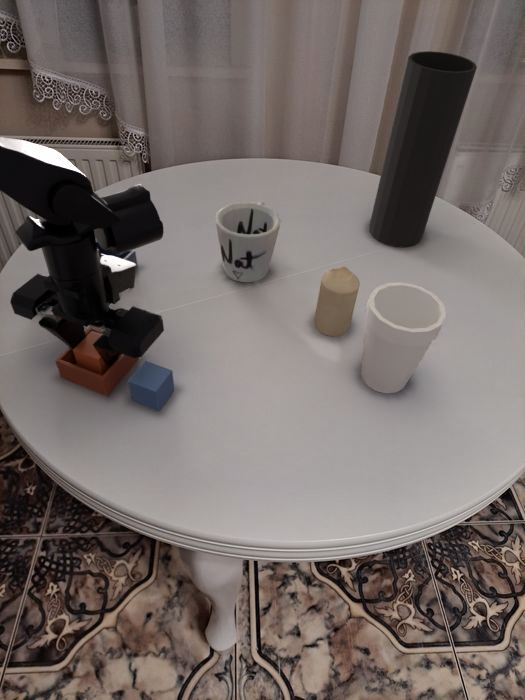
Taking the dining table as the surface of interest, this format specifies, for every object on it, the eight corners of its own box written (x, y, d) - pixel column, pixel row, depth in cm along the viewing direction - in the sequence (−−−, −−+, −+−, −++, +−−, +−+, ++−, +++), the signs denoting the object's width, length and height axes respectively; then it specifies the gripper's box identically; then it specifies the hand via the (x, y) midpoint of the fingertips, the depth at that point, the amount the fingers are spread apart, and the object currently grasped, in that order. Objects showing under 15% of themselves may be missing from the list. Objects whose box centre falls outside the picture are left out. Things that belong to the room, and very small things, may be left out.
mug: (207, 280, 85) (205, 228, 78) (234, 234, 95) (235, 184, 88) (267, 294, 83) (271, 241, 76) (288, 245, 93) (293, 195, 86)
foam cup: (339, 360, 73) (355, 289, 64) (394, 346, 76) (417, 276, 67) (371, 409, 67) (395, 339, 58) (430, 392, 70) (461, 323, 61)
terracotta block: (78, 370, 69) (72, 349, 66) (96, 351, 71) (91, 330, 68) (103, 380, 68) (98, 359, 65) (121, 360, 70) (116, 339, 67)
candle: (309, 330, 78) (317, 278, 70) (320, 309, 81) (329, 257, 74) (343, 341, 76) (356, 288, 69) (353, 319, 80) (365, 267, 73)
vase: (404, 215, 103) (450, 49, 82) (432, 242, 97) (491, 70, 75) (359, 222, 100) (395, 53, 79) (385, 251, 94) (432, 74, 72)
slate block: (132, 401, 66) (128, 381, 63) (148, 380, 69) (145, 360, 66) (158, 411, 65) (155, 391, 62) (174, 390, 68) (172, 370, 65)
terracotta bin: (60, 377, 68) (54, 360, 66) (94, 342, 73) (90, 325, 71) (107, 396, 67) (103, 379, 64) (139, 359, 71) (136, 342, 69)
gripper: (182, 251, 61) (188, 344, 72) (54, 212, 65) (79, 305, 76) (129, 306, 53) (145, 400, 64) (-11, 257, 58) (27, 353, 69)
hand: (98, 360), depth 69 cm, fingers closed on terracotta block, 4 cm apart
